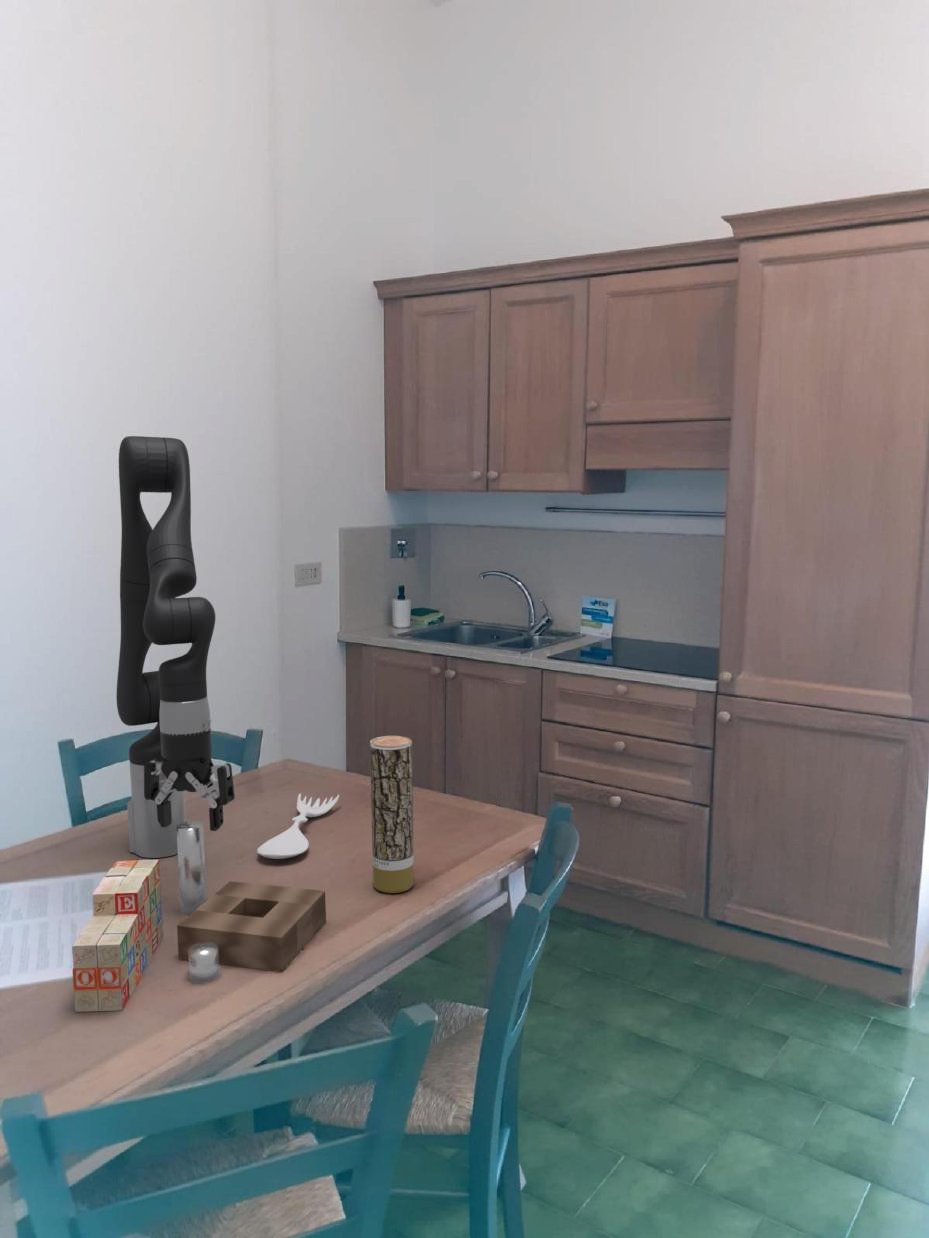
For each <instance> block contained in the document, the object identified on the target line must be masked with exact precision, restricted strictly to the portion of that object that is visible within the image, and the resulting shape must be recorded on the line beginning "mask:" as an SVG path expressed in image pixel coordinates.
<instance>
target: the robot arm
mask: <svg viewBox="0 0 929 1238" xmlns="http://www.w3.org/2000/svg"><path fill="white" fill-rule="evenodd" d="M190 466H191V465H190V457H189V452H188V448H187V446H186V444H185V443H184V441H182V440H181V439H179V438H176V437H175V438H174V437H167V436H166V437H163V436H162V437H159V436H141V435H139V436H138V435H129V436H125V437H124V438H123V439H122V440H121V442H120V444H119V449H118V478H119V479H118V480H119V498H120V500H119V501H120V502H119V503H120V518H121V540H120V541H121V542H120V543H121V545H120V567H119V568H120V569H119V571H120V572H119V600H120V601H119V603H120V604H119V605H120V606H119V607H120V609H119V610H120V643H119V644H120V646H119V655H118V669H117V679H116V708H117V714H118V716H119V719H120V721H121V722H122V724H124V725H126V726H128V727H130V726H131V727H134V726H135V727H136V726H142V725H149V724H155V723H156V725H155V726H154V728H153V729H152V730H151V731H150V732H149V733H147V734H146V735H144V736H143V737H141V738H139V739H138V740H136V741H134V742H133V743H131V745H130V746H129V749H128V756H129V759H128V760H129V773H130V787H131V789H130V790H131V791H130V792H131V800H128V802H127V803H126V807H127V808H126V810H127V824H128V825H127V826H128V827H127V828H128V840H129V841H128V843H129V844H128V845H129V853H131V852H132V853H134V854H135V855H137V856H138V855H139V857H142V858H147V859H149V858H150V859H151V858H152V859H156V858H160V859H161V858H165V857H166V858H167V857H170V856H174V855H178V848H177V828H176V827H177V825H178V824H180V823H183V822H187V821H186V817H187V816H186V801H185V796H186V795H185V791H186V792H189V793H198V795H199V796H200V797H201V798H203V799H204V800H205V801H206V802H207V804H208V805H209V806H210V807H209V808H208V814H209V815H208V816H209V817H208V818H209V830H210V831H211V832H217V831H218V830H219V829H221V827H222V826H223V824H224V806H227V805H228V804H229V803H230V802H232V801H234V800H235V787H234V779H233V778H234V777H233V769H232V767H233V766H232V764H231V763H229V762H226V763H224V764H214V762H213V761H212V753H213V749H212V729H211V728H212V727H211V725H212V724H211V723H212V721H211V711H210V709H211V708H210V706H209V700H208V687H207V685H208V683H207V665H208V656H209V649H210V646H211V641H212V638H213V634H214V630H215V625H216V611H215V608H214V606H213V604H212V603H211V602H210V601H209V599H207V598H206V597H203V596H189V597H181V596H184V595H188V594H189V593H190V592H191V591H193V590H194V589H195V587H196V586H197V579H198V577H197V569H196V565H195V557H194V550H193V546H192V545H193V543H192V531H191V522H192V520H191V519H192V504H191V503H192V501H191V499H192V498H191V495H192V494H191V492H192V491H191V468H190ZM141 493H154V494H155V493H160V494H161V493H165V494H167V493H168V494H169V493H170V494H171V496H170V501H169V503H168V505H167V507H166V509H165V510H164V512H163V514H162V515H161V517H160V518H159V520H158V521H157V522H156V524H155V526H154V527H153V528H152V525H151V524H150V522H149V519H147V518H148V517H147V516H146V514H145V512H144V509H143V506H142V503H141ZM152 644H154V645H157V646H169V645H172V646H173V645H186V644H191V647H190V649H189V650H188V651H187V652H186V653H185V654H183V655H180V656H178V657H175V658H170V659H168V660H165V661H163V662H162V663H161V664H159V667H158V670H154V671H153V670H152V671H147V672H143V671H144V665H145V662H146V661H145V660H146V657H147V654H148V652H149V649H150V648H151V645H152ZM213 774H214V778H215V779H216V780H217V784H216V782H215V781H214V780H213V778H212V776H213Z"/></svg>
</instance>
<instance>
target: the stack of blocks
mask: <svg viewBox="0 0 929 1238" xmlns="http://www.w3.org/2000/svg"><path fill="white" fill-rule="evenodd" d="M160 871H161V870H160V860H159V859H139V860H136V859H134V860H118V861H115V863H114V864H113V866H111V868H109V870H108V871H107V872H106V874H105V876H104V877H103V878H102V879H101V881H100V882H99V884H98V886H97V887H96V889H94V891H93V893H92V912H93V913H92V914H93V915H92V917H91V918H90V920H89V921H88V923H87V924H86V925H85V926H84V927H83V929H82V930H81V931H80V933H79V935H78V937H77V938H76V939H75V941H74V943H73V944H72V945H71V946H72V947H71V948H72V949H71V951H72V952H71V953H72V965H73V968H72V982H73V983H72V984H73V994H74V995H73V997H74V1010H75V1012H76V1013H80V1012H81V1013H82V1012H83V1013H84V1012H87V1013H88V1012H110V1011H111V1012H112V1011H113V1012H114V1011H124V1008H125V1006H126V1004H127V1003H128V1000H129V999H130V998H131V997H132V994H133V993H134V990H135V988H136V987H137V985H138V983H139V981H140V980H141V978H142V975H143V973H144V971H145V970H146V968H147V966H148V964H149V962H150V960H151V958H152V956H153V955H154V954H155V952H156V950H157V948H158V947H159V945H160V944H161V942H162V939H163V938H164V926H163V925H164V923H163V922H164V920H163V913H162V887H161V886H162V884H161V874H160V873H161V872H160Z"/></svg>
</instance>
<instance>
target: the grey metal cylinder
mask: <svg viewBox="0 0 929 1238" xmlns="http://www.w3.org/2000/svg"><path fill="white" fill-rule="evenodd" d="M188 954H189V960H188V967H189V968H188V971H189V972H188V973H189V980H190V981H191V982H192V983H195V984H206V983H210V982H214V981H216V980H218V978H219V977H220V975H221V974H220V964H219V948H218V945H217V944H216V943H213V942H201V943H197V944H195V945H193V946H191V947H190V948H189V950H188Z"/></svg>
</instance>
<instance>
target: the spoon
mask: <svg viewBox="0 0 929 1238" xmlns="http://www.w3.org/2000/svg"><path fill="white" fill-rule="evenodd" d="M307 797H308V796H307V795H305V796H304V797H303V800H302V793H300V792H299V794H298V796H297V800H296V811H297V812H298V813H299V815H298V816H295V817H293V818H292V819H291V822H292V823H293V824H292V825H291V826H290V827H289V828H287V830H285V831H283V832H281V833H280V834H278V835H276V836H274V837H272V838H270V839H268V840H266V841H265V842H264V843H263V844H261V845H260V846H259V847H257V849H256V852H257V853H258V854H259V856H262V857H263V858H267V859H273V860H274V859H275V860H277V859H278V860H279V859H280V860H281V859H289V858H294V857H296V856H299V855H302V854H303V853H305V852H306V851H307V850H308V849H309V848H310V847H309V846H310V842H309V840H308V839H307V838H306V836H305V835H304V833H303V832H302V831H301V829H300V828H299V826H300V825H301V824H304V823H306V822H308V818H317V817H320V816H322V815H325V814H326V813H327V812H329V811H330V810H331V809H332V808H334V806H335V805H336V804H337V803H338V802H339V800H340V794H337V796H336V797H335V798H334V796H331V797H330V798H329V800H328V797H325V798H324V801H323V802H322V804H321V798H320V797H318V798H317V799H316V800H315V801H314V803H313V805H312V802H313V797H312V796H311V797H310V798H309V800H308V802H307V799H308V798H307ZM333 798H334V799H333Z"/></svg>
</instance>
